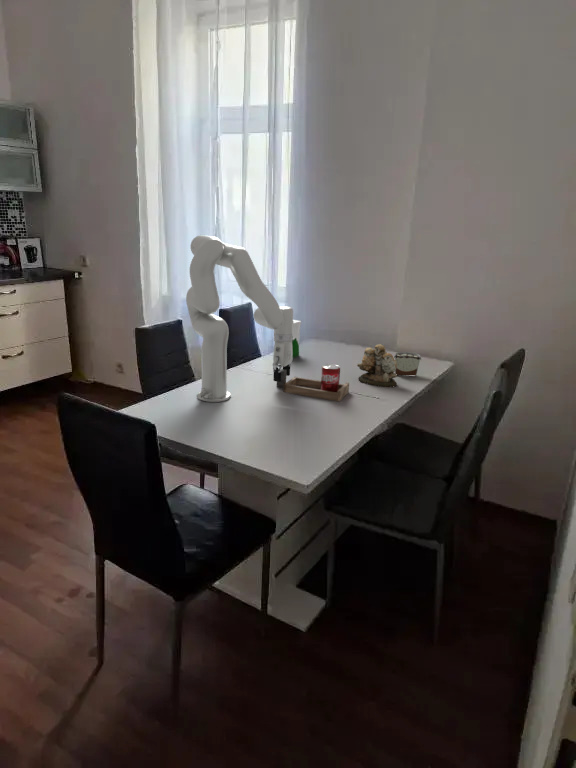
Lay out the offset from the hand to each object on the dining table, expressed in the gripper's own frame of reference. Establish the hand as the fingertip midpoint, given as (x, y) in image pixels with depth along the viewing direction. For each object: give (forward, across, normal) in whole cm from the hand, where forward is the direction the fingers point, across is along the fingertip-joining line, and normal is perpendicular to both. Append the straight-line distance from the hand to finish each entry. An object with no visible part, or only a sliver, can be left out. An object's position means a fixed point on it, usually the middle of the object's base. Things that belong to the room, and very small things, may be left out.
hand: (281, 378), depth 218 cm
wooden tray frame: (+4, 0, -13) cm, 13 cm away
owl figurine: (+4, +26, -34) cm, 43 cm away
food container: (+4, +45, -43) cm, 62 cm away
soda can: (+4, 0, -21) cm, 21 cm away
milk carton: (+4, +48, +16) cm, 51 cm away
